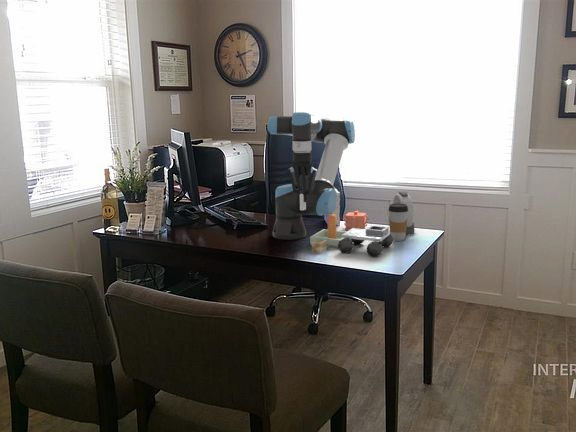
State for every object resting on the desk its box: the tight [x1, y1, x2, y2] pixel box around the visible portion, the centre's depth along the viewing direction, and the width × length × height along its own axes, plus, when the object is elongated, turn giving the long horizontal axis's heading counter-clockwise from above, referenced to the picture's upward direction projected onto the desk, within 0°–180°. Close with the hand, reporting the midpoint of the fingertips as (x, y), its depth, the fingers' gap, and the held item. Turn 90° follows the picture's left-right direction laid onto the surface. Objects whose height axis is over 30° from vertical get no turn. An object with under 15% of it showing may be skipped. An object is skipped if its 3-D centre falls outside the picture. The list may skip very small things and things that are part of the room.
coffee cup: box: [388, 203, 408, 242], centre depth 235 cm, size 8×8×15 cm
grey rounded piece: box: [392, 191, 415, 236], centre depth 248 cm, size 16×10×18 cm, turn 4°
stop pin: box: [327, 214, 337, 239], centre depth 233 cm, size 4×4×11 cm
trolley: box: [337, 224, 394, 258], centre depth 221 cm, size 18×16×9 cm
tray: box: [309, 228, 351, 249], centre depth 234 cm, size 14×14×4 cm
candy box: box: [323, 187, 341, 227], centre depth 267 cm, size 14×6×16 cm, turn 5°
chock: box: [311, 239, 328, 254], centre depth 222 cm, size 4×6×4 cm, turn 153°
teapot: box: [342, 210, 369, 231], centre depth 255 cm, size 12×15×8 cm
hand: (303, 209), depth 223 cm, fingers closed
